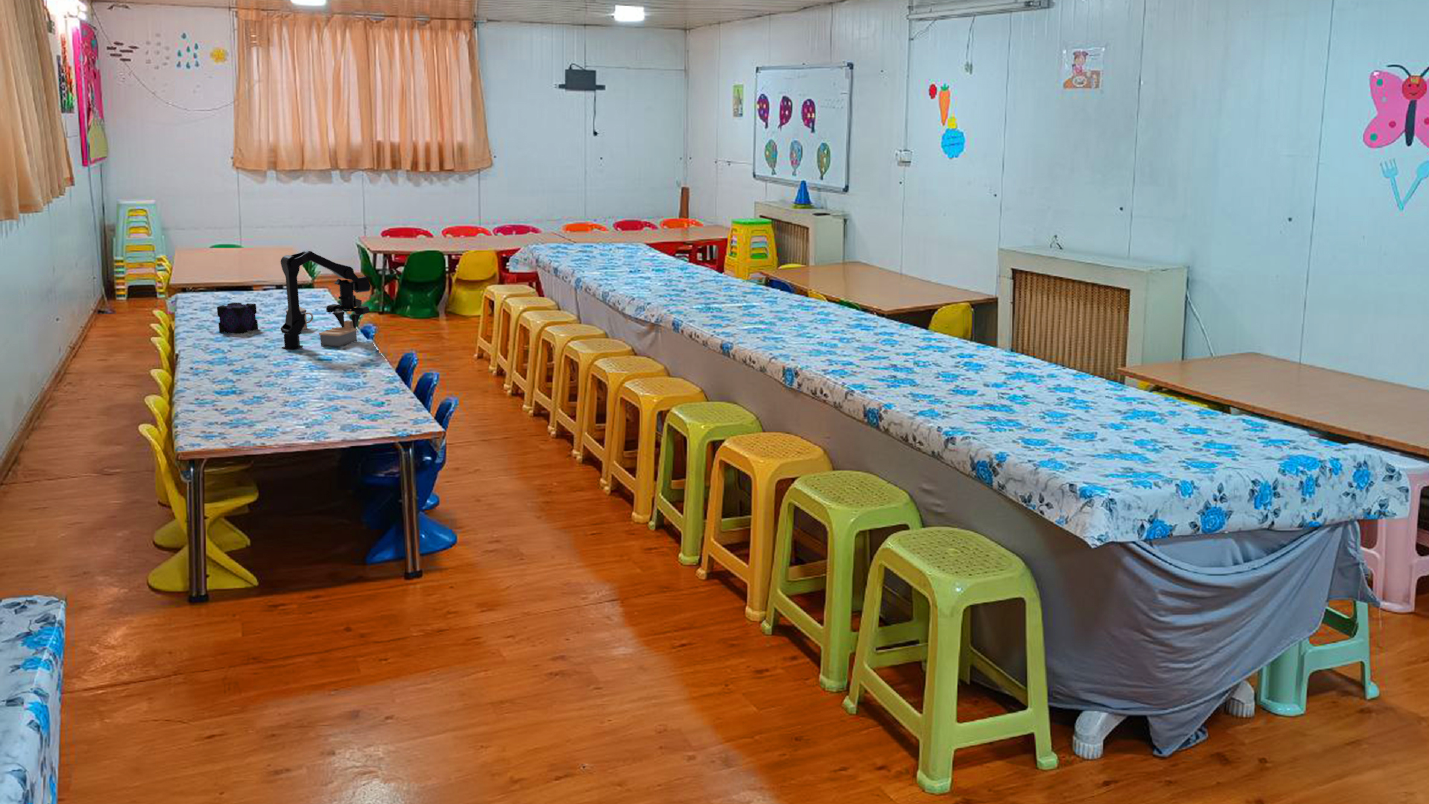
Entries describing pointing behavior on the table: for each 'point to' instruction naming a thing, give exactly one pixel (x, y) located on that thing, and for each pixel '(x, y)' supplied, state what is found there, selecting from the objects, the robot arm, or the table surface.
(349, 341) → the tub
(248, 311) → the energy cube
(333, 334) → the lid
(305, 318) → the teacup with lid
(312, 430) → the table surface
